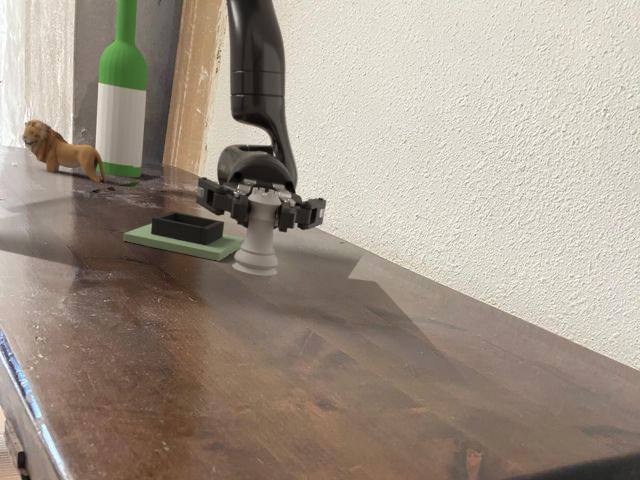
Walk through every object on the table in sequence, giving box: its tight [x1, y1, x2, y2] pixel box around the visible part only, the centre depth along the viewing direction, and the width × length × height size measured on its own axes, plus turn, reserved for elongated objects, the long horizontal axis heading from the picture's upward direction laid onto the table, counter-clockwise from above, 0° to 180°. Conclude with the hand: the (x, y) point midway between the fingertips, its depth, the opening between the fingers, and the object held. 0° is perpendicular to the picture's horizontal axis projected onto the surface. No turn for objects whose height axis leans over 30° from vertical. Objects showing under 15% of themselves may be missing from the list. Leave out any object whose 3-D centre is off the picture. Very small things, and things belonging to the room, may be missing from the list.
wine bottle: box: [94, 0, 148, 187], centre depth 123 cm, size 8×8×30 cm
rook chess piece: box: [231, 188, 281, 281], centre depth 71 cm, size 4×4×8 cm
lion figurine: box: [21, 119, 116, 194], centre depth 116 cm, size 15×5×9 cm, turn 88°
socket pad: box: [123, 210, 245, 262], centre depth 94 cm, size 12×12×3 cm
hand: (264, 217), depth 68 cm, fingers closed on rook chess piece, 3 cm apart
